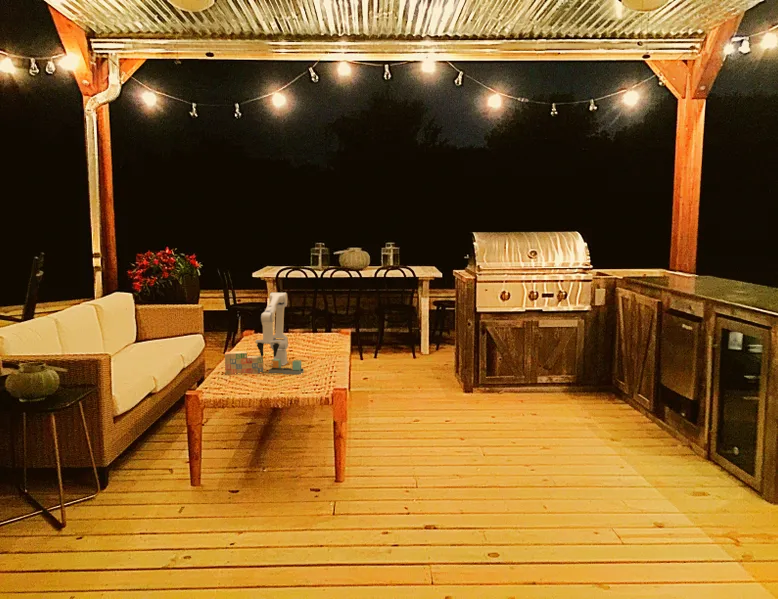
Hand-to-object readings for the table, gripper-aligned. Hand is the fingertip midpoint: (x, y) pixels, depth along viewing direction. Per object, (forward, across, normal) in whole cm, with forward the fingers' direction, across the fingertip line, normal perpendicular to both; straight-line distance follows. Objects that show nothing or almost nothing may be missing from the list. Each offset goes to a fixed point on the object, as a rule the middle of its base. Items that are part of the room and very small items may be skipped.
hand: (268, 356), depth 371 cm
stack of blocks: (+10, -14, -2) cm, 17 cm away
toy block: (+10, +2, +8) cm, 13 cm away
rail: (+10, +10, +1) cm, 14 cm away
